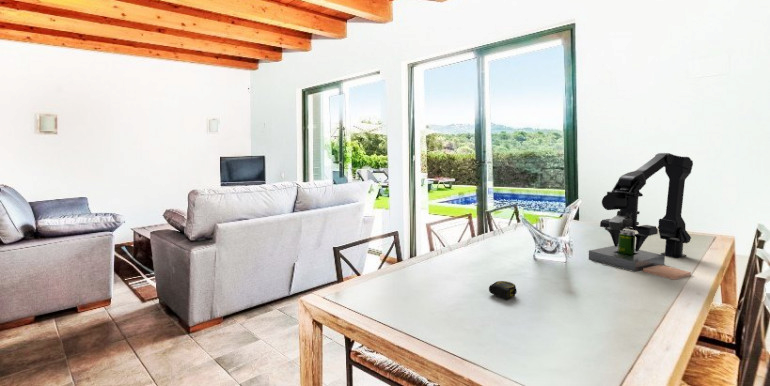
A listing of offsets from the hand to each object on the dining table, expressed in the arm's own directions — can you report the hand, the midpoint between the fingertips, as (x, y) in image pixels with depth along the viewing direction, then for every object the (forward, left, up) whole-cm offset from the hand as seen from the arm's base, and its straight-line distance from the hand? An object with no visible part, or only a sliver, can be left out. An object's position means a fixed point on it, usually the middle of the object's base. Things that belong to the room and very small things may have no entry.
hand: (626, 248), depth 150 cm
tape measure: (+66, +4, -6) cm, 66 cm away
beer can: (0, 0, -5) cm, 5 cm away
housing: (0, 0, -5) cm, 5 cm away
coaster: (+1, +15, -5) cm, 16 cm away
